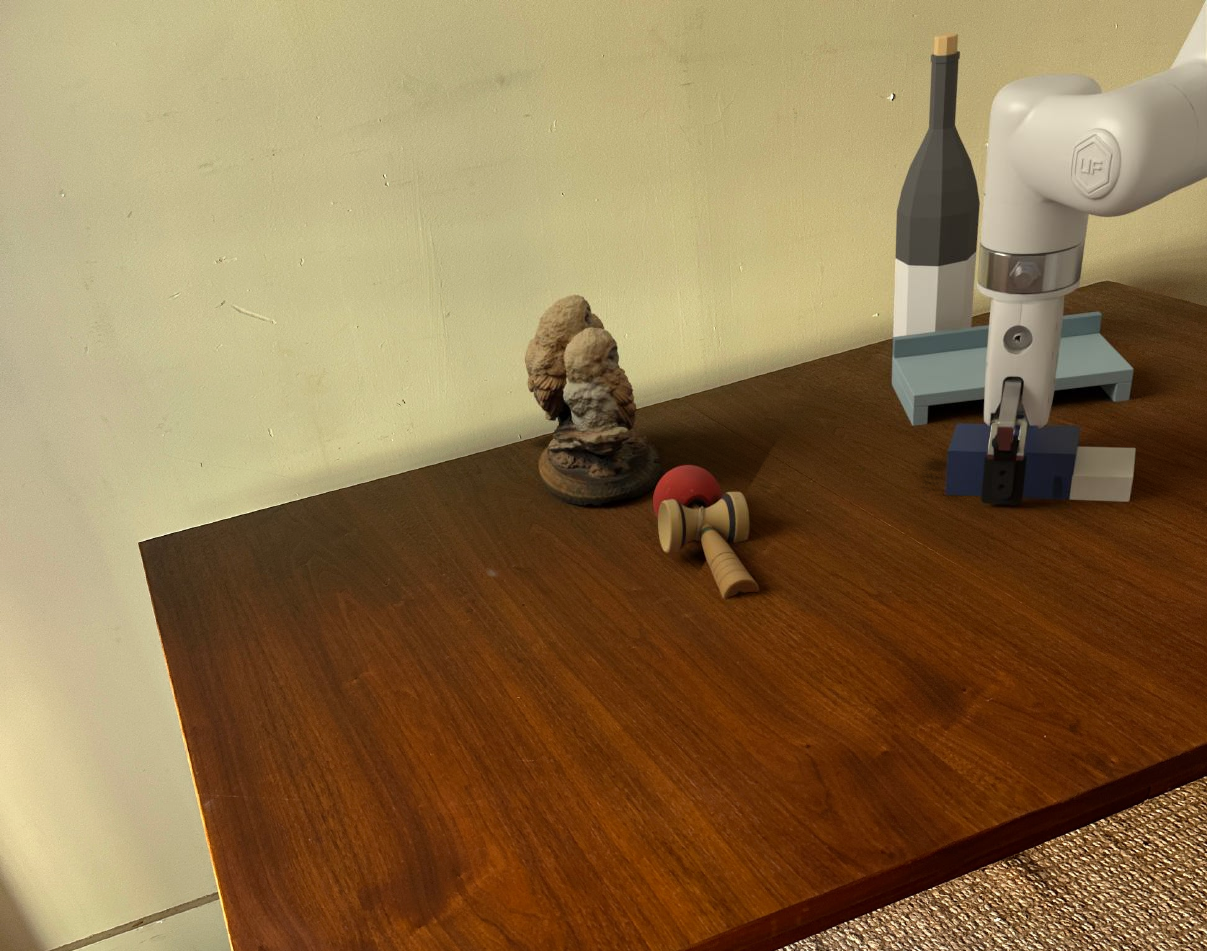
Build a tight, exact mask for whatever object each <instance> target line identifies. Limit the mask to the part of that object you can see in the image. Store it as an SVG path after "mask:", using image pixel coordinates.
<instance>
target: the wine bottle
mask: <svg viewBox="0 0 1207 951" xmlns="http://www.w3.org/2000/svg"><path fill="white" fill-rule="evenodd" d="M958 38H959V34H958V33H955V32H947V33H941V34H937V35H935V36H934V41H933V42H934V43H933V45H934V46H933V53H932V54H931V55H930V63H931V67H930V92H929V115H928V120H929V121H928V129H927V131H926V133H925V135H924V138H923V140H922V142H921V144H920V145H919V148H918V149H917V152H915V155H914V157H913V159H912V161H911V163H910V165H909V167H908V171H907V173H906V176H905V179H904V182H903V184H902V188H901V191H900V196H899V200H898V204H897V208H896V221H895V222H896V225H895V226H896V228H895V258H894V259H895V260H894V261H895V262H894V263H895V265H894V291H893V292H894V294H893V295H894V296H893V297H894V298H893V333H892V338H893V337H897V336H905V335H913V334H921V333H929V332H937V331H945V330H953V329H961V328H969V327H972V322H973V307H974V295H975V294H974V293H975V277H976V264H977V262H976V261H977V250H978V237H979V236H978V234H979V221H980V220H979V219H980V205H981V202H980V195H979V189H978V188H979V187H978V182H977V177H976V174H975V170H974V166H973V164H972V159H971V157H970V155H969V154H968V152H967V149H966V147H965V145H964V143H963V141H962V138H961V136H960V134H959V132H958V129H957V127H956V116H957V99H958V98H957V95H958V79H959V63H960V62H959V60H960V58H961V51H958V42H959V39H958Z"/></svg>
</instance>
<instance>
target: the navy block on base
mask: <svg viewBox="0 0 1207 951" xmlns="http://www.w3.org/2000/svg"><path fill="white" fill-rule="evenodd" d="M990 432H991V427H989V426H988V425H987V424H986V423H960V422H959V423H956V425H955V429H954V431H953V435H952V437H951V440H950V443H949V446H948V449H947V456H946V457H947V459H946V473H945V490H944V491H945V492H944V495H945V496H971V497H981V495H982V484H983V473H984V461H985V455H987V453H988V446H989V439H990ZM1019 433H1020V430H1015V433H1014V435H1017V437H1018V439H1019ZM1080 433H1081V425H1060V424H1059V425H1058V424H1057V425H1055V424H1054V425H1053V424H1046V425H1045V426H1044V427H1042V428H1038V426H1030V425H1029V426H1028V429H1027V436H1026V443H1025V450H1024V456H1027V462H1026V471H1025V480H1024V489H1023V498H1022V499H1043V500H1045V499H1047V500H1069V501H1070V500H1075V501H1097V502H1098V501H1099V502H1101V501H1102V502H1125V503H1128V502H1130V500H1131V494H1132V487H1133V481H1134V472H1135V460H1136V448H1135V447H1115V446H1114V447H1113V446H1112V447H1109V446H1079V441H1080V435H1081V434H1080Z"/></svg>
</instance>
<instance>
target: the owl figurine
mask: <svg viewBox="0 0 1207 951" xmlns="http://www.w3.org/2000/svg"><path fill="white" fill-rule="evenodd" d="M618 349H619V347H618V342H617V341H616V339H615V338H614V336H612V333H610V331H608V330H606V329H605V326H604V323H603V321H602V320H601V318H599V316H598V315H597V314H595V313H592V309H591V305H590V303H589V301H588V300H586V299H585V297H584V296H580V295H579V294H578V295H576V294H572V295H566V296H565V297H562V298H560V299H558V300H557V301H555V302H554V303H553V304H552V305H551V306H549V307H548V308H547V309H546V310H545V311H544V313H543V314H542V316H541V317H539V322H538V324H537V328H536V330H535V334H534V337H533V338H531V339H530V340H529V342H528V344H527V346H526V350H525V356H524V363H525V368H526V372H527V376H528V378H527V383H526V384H527V389H528V391H529V392H530V393H533V396H534V399H535V401H536V402H537V404H538V406H539V407H540V408H541V410H543V412H545V415H544V416H545V417H544V418H545V419H546V420H548V421H552V422H556V420H557V422H558V423H557V425H556V428H555V429H554V433H553V439H552V440H550V442H549V444H548V446H546V448H545V449H544V450H543V451H542V452H541V454H540V456H539V460H538V472H539V478H540V480H541V482H542V484H543V485H544V487H545V488H546V490H547V492H548V493H549V494H551V495H552V496H553V497H555V498H557V499H559V500H561V501H563V502H566V503H569V504H572V505H576V506H588V505H590V504H592V505H593V506H597V505H598V506H599V507H601V506H602V504H608V503H611V502H616V501H620V500H623V499H632V498H637V497H641V496H643V495H645V494H646V493H648V492H650V491H651V490H653V488H654V487H656V485H657V483H658V482H659V479H660V476H661V474H662V473H661V468H662V465H661V457H660V454H659V452H658V450H657V449H656V447H655V446H654V445H653V443H651V442H650V441H649V440H648V438H647V437H646V436H642V435H641V434H640V433H639V432H638V430H637V429H636V428H635V427H634V425H635V423H636V422H635V421H636V412H637V411H638V409H637V404H636V403H635V396H634V393H633V392H634V389H633V385H632V383H631V382H630V380H629V377H628V375H627V374H626V370H625V369H623V368H622V367H621V366H620V364H619V361H620V355H619V352H618ZM596 455H601V456H604V457H602V458H601V457H598V456H596Z"/></svg>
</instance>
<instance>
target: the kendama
mask: <svg viewBox="0 0 1207 951" xmlns="http://www.w3.org/2000/svg"><path fill="white" fill-rule="evenodd" d="M652 507H653V512H654V515H655V517H656V519H657V529H658V537H659V543H660V546H661V549H662V550H663V552H664V553H666V554H678V553H679V552H680V551H681V550H682V549H683V548H684V547H685V546H686V545H687V544H688V543H690V542H693V541H697V542H701V547H702V549H703V553H704V556H705V560H706V562H707V564H708V567H709V569H710V571H711V574H712V577H713V579H714V581H715V583H716V585H717V588H718V590H719V592H720V595H721V598H722V599H723V600H727V599H728V598H730V597H733V596H735V595H738V593H739V594H744V593H749V592H750V593H751V592H753V593H755V592H756V593H757V592H760V587H759V585H758V583H757V581H755V579H754V578H753V576H751V574H750V573H749V571H748V570H747V569H746V567H745V566H744V564H743V563H742V561H741V560H740V559H739V557H738V556H737V554H736V552H734V550H733V549H732V548H731V546H730V545H729V543H728V542H731V543H740V542H745V541H748V539H749V534H750V512H749V506H748V504H747V499H746V497H745V496H744V494H743V493H742V492H741V491H728V492H725V493H724V494H723V493H722V490H721V486H720V484H719V483H718V480H717V479H716V478H715V477H714V475H713V474H712V473H711V472H709V471H708V470H706V469H705V468H703V467H701V466H697V465H693V464H684V465H679V466H676V467H674V468H672V469H670V470H669V471H667V472H666V473H664V474H663V476H662V477H661V478H659V480H658V481H657V483H656V485H655V489H654V492H653V497H652Z"/></svg>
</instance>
